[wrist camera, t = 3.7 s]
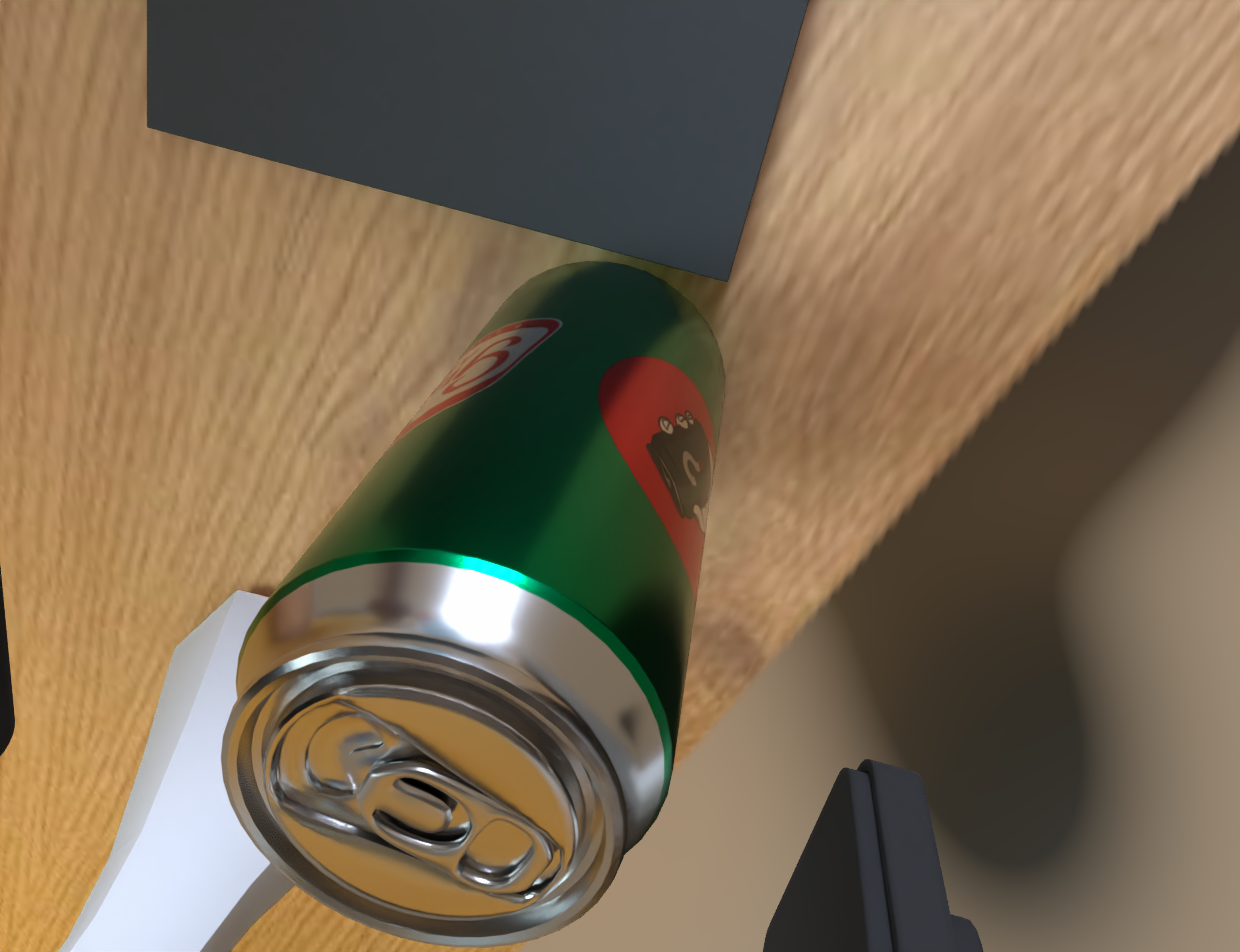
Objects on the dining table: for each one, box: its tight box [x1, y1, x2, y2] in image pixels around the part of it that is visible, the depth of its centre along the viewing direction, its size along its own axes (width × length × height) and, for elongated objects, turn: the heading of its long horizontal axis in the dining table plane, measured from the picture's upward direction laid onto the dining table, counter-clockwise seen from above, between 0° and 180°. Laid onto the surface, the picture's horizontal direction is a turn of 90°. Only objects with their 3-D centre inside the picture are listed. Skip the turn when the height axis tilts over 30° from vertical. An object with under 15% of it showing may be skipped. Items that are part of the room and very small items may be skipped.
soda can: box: [221, 261, 725, 948], centre depth 15 cm, size 5×5×12 cm
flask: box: [58, 590, 295, 952], centre depth 21 cm, size 7×7×10 cm
